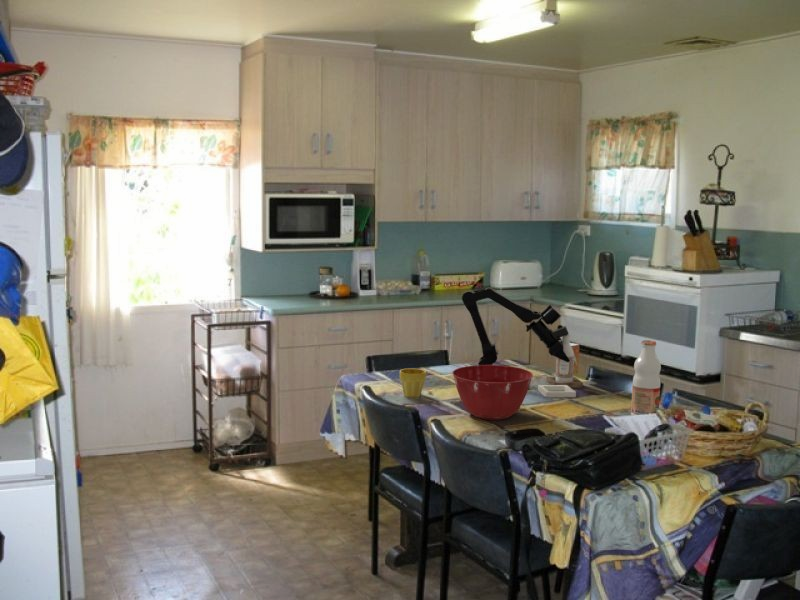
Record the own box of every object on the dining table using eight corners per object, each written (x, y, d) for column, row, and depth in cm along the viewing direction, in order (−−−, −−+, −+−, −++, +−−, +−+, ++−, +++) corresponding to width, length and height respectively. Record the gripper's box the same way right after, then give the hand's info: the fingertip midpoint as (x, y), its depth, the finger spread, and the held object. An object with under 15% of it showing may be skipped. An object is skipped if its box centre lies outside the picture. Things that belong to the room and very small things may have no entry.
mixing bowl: (475, 429, 278) (476, 384, 276) (437, 408, 304) (438, 367, 302) (546, 421, 290) (548, 378, 288) (504, 402, 316) (506, 362, 314)
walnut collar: (554, 387, 341) (554, 382, 341) (546, 381, 353) (546, 376, 353) (582, 387, 342) (583, 382, 342) (573, 381, 354) (574, 376, 354)
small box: (568, 375, 365) (569, 346, 363) (556, 373, 370) (557, 344, 368) (578, 373, 371) (579, 344, 369) (566, 370, 375) (567, 342, 373)
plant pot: (426, 398, 318) (427, 373, 317) (400, 398, 318) (400, 373, 316) (424, 392, 329) (424, 368, 327) (398, 392, 328) (398, 368, 327)
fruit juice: (627, 415, 300) (631, 338, 296) (652, 415, 300) (657, 339, 297) (635, 422, 291) (640, 343, 287) (662, 422, 291) (666, 343, 287)
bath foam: (554, 383, 345) (557, 335, 343) (556, 379, 352) (559, 333, 349) (571, 384, 343) (574, 337, 341) (573, 381, 350) (575, 334, 347)
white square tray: (545, 397, 324) (546, 392, 324) (537, 390, 336) (538, 385, 336) (575, 397, 326) (576, 392, 325) (566, 389, 337) (566, 385, 337)
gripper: (558, 322, 335) (584, 351, 335) (556, 316, 354) (581, 343, 354) (537, 341, 338) (563, 369, 337) (537, 333, 356) (561, 360, 356)
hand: (568, 359), depth 346 cm, fingers closed on bath foam, 7 cm apart
